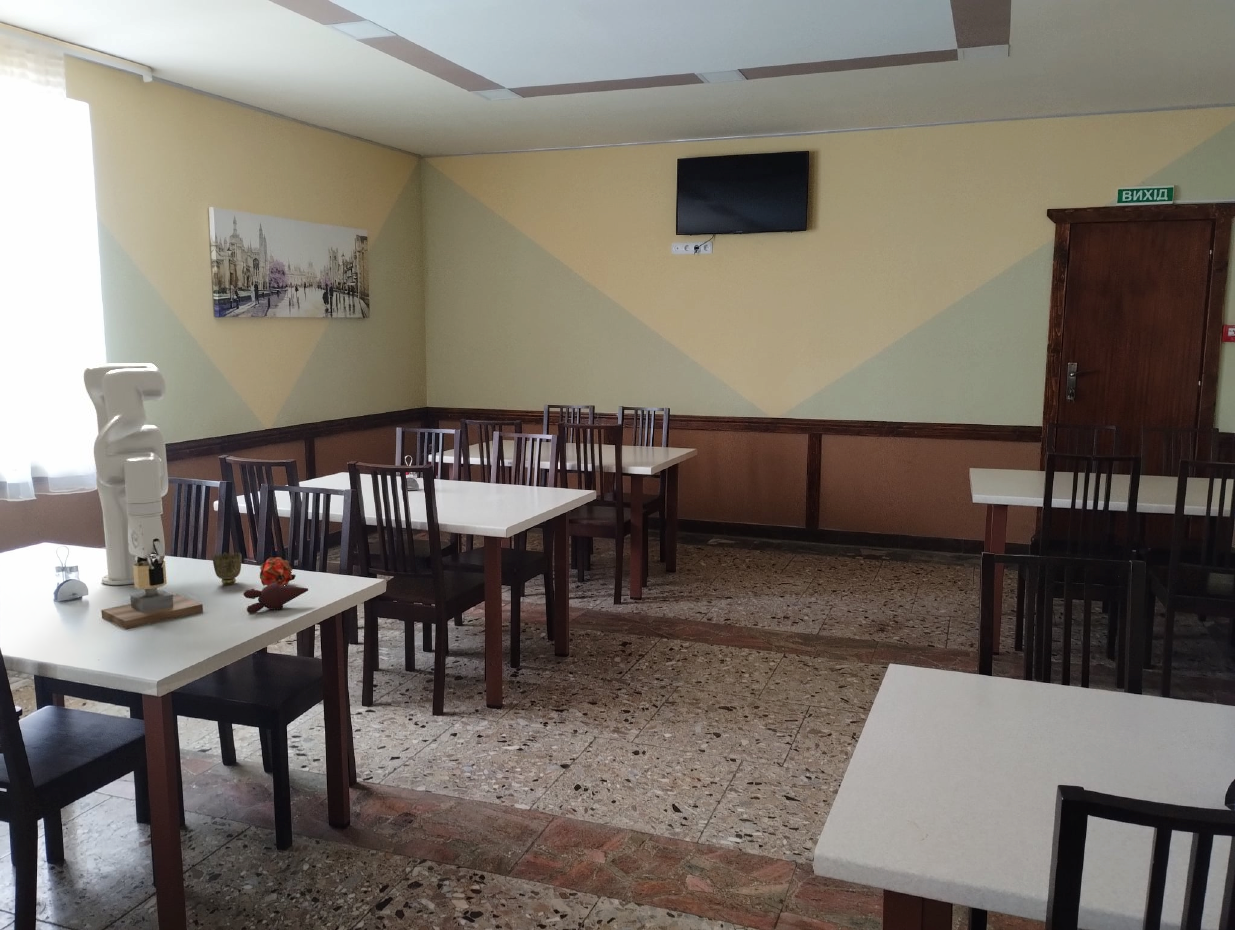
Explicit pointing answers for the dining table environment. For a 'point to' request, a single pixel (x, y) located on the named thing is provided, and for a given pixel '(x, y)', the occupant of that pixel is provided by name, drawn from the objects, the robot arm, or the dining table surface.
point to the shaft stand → (151, 608)
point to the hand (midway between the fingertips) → (150, 581)
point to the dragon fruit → (276, 572)
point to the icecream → (272, 596)
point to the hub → (145, 576)
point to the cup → (227, 567)
